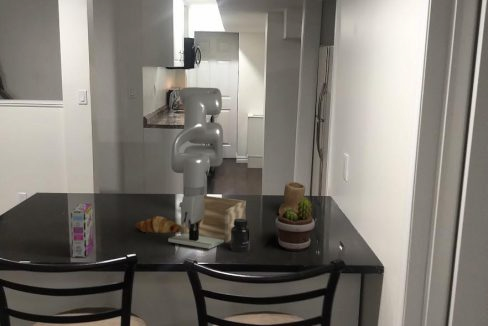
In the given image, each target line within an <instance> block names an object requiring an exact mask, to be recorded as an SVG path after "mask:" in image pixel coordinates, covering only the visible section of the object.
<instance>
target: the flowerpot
mask: <svg viewBox="0 0 488 326" xmlns="http://www.w3.org/2000/svg"><path fill="white" fill-rule="evenodd" d="M302 197H303V196H302ZM297 205H298V208H297V209H298V210H297V211H299V212H295V211H294V208H293V209H292V208H291V209H289V208H288V209H286V211H285V213H281V214H279V215H278V216H277V217H276V219H275V220H274V221H275V224H274V225H275V227H276V228H277V232H278V238H277V239H278V241H277V242H278V243H279V245H280V248H283V249H285V250H286V251H291V252H292V251H293V252H301V251H304V250H306V249H307V248H308V247H309V246H310V244H311V238H310V236H311V233H312V230H313V229H315V225H316V224H315V219H314V218H313V217H312V213H311V212H312V211H313V207H312V206H313V203H312V201H311V200H310V199H309V198H308V197H307V196H304V197H303V199H301V201H300V200H299V203H298V204H297ZM295 209H296V208H295Z"/></svg>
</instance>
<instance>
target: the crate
mask: <svg viewBox="0 0 488 326" xmlns="http://www.w3.org/2000/svg"><path fill="white" fill-rule="evenodd" d="M204 202H205V216H204V218H203V219H202V221H201V222H200V227H199V236H202V237H209V238H215V239H221V240H224V242H225V243H230V242H231V229H232V227H234V220H235V219H239V218H242V219H247V218H246V209H247V208H246V207H247V203H246V202H247V201H246V200H243V199H234V198H227V197H226V198H225V197H219V196H218V197H217V196H209V195H207V196H204ZM181 208H182V205H181V207H180V209H181ZM180 226H181V232H180V235H182V234H189V230H188V228H186V227H185V222H184V223H182V222H181V221H180Z"/></svg>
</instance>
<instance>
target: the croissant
mask: <svg viewBox="0 0 488 326" xmlns="http://www.w3.org/2000/svg"><path fill="white" fill-rule="evenodd" d="M134 225H135V227H136V228H137V229H139V230H140V231H141V232H143V233H144V232H146V233H153V234H165V233H171V234H172V233H181V224H179V223H176V222H175V221H174V220H173V219H167V218H166V217H164V216H160V215H154V216H153V217H152V218H147V219H146V220H141V221H139V222H135V223H134ZM146 233H145V234H146Z"/></svg>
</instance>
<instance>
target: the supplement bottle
mask: <svg viewBox="0 0 488 326" xmlns="http://www.w3.org/2000/svg"><path fill="white" fill-rule="evenodd" d="M248 224H249V223H248V219H247V218H245V219H242V218H239V219H235V220H234V227H232V229H231V240H230V251H232V252H233V253H240V254H241V253H247V252H249V251H250V243H251V242H250V240H251V239H250V238H251V237H250V236H251V235H250V234H251V230H250V228H249V227H248Z"/></svg>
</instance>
